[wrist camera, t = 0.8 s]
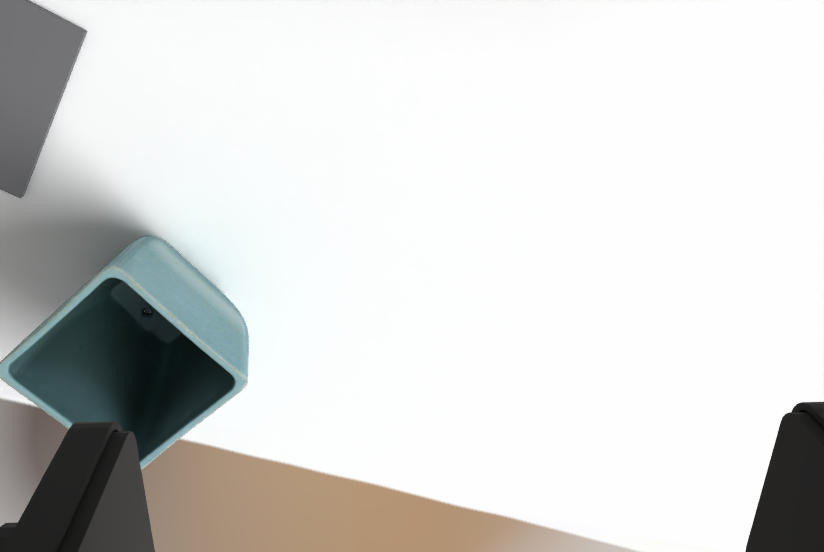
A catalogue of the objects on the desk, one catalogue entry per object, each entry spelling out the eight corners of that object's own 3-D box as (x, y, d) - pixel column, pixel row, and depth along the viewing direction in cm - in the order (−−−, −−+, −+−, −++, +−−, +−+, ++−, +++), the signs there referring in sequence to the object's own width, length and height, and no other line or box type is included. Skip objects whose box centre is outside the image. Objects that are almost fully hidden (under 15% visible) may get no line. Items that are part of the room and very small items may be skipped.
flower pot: (56, 288, 44) (-12, 373, 36) (159, 193, 42) (110, 262, 34) (170, 381, 48) (131, 478, 40) (271, 298, 45) (252, 383, 37)
